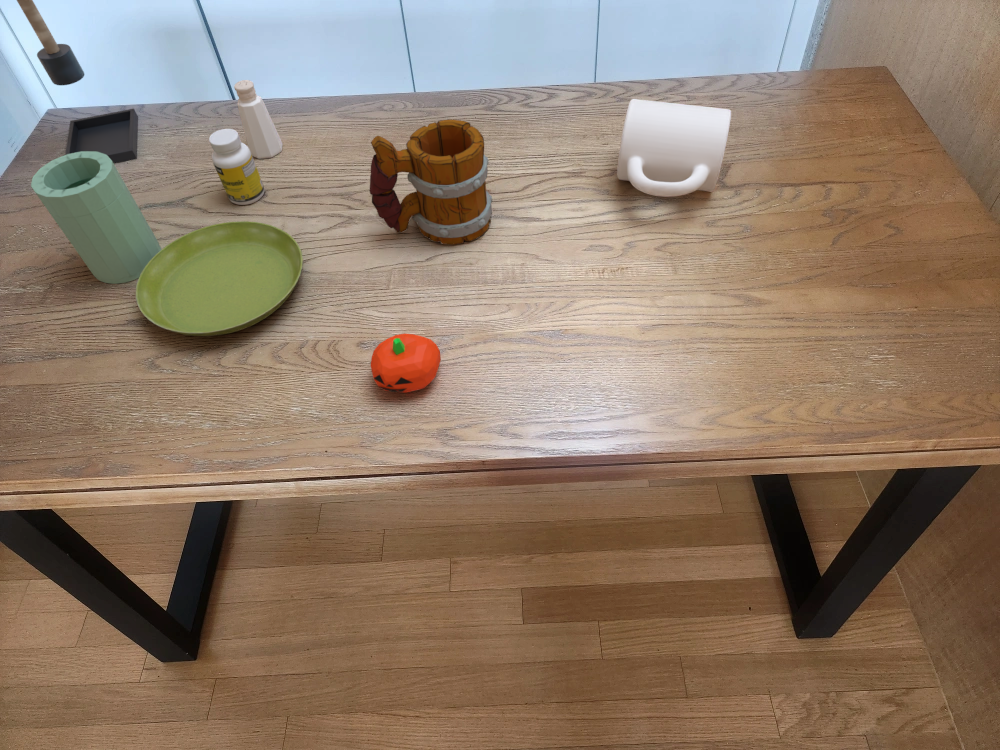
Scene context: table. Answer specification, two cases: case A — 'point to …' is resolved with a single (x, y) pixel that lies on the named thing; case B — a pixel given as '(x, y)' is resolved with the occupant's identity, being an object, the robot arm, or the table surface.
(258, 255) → the saucer
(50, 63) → the wooden handled plunger
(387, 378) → the pumpkin
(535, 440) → the table surface
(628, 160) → the mug
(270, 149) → the salt shaker
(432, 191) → the mug
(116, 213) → the jar
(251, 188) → the supplement bottle
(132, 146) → the tray
